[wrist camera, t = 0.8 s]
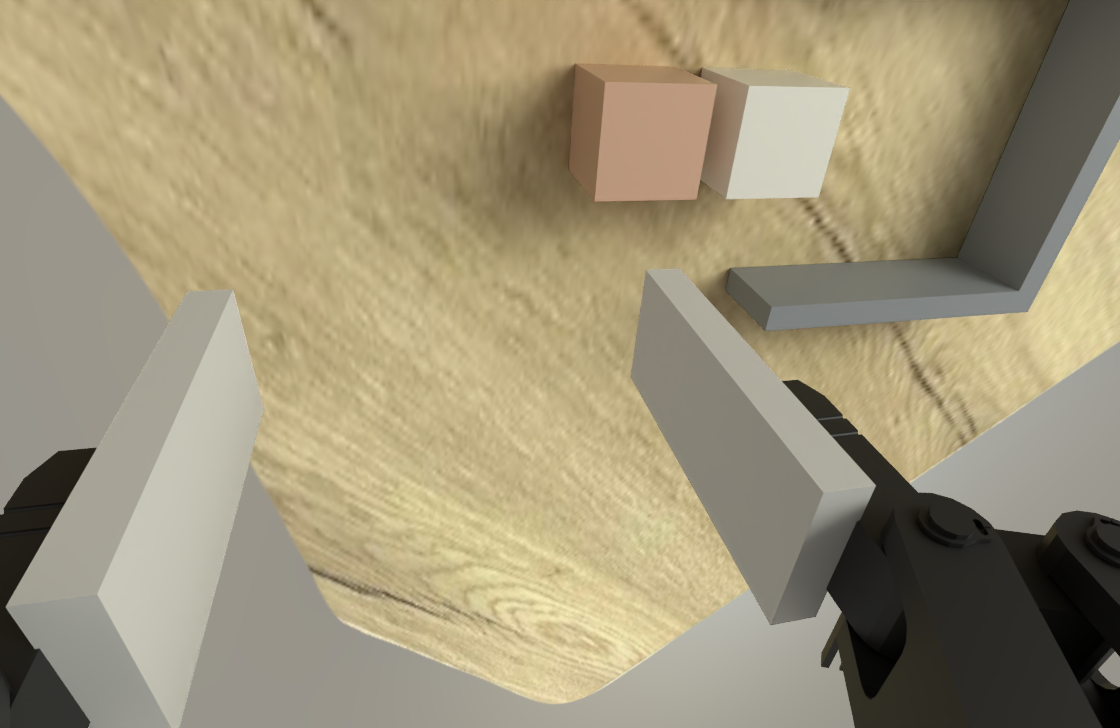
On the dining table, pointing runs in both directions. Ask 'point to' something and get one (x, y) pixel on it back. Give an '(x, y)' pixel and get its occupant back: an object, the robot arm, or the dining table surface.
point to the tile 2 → (770, 132)
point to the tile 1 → (639, 131)
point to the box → (981, 206)
